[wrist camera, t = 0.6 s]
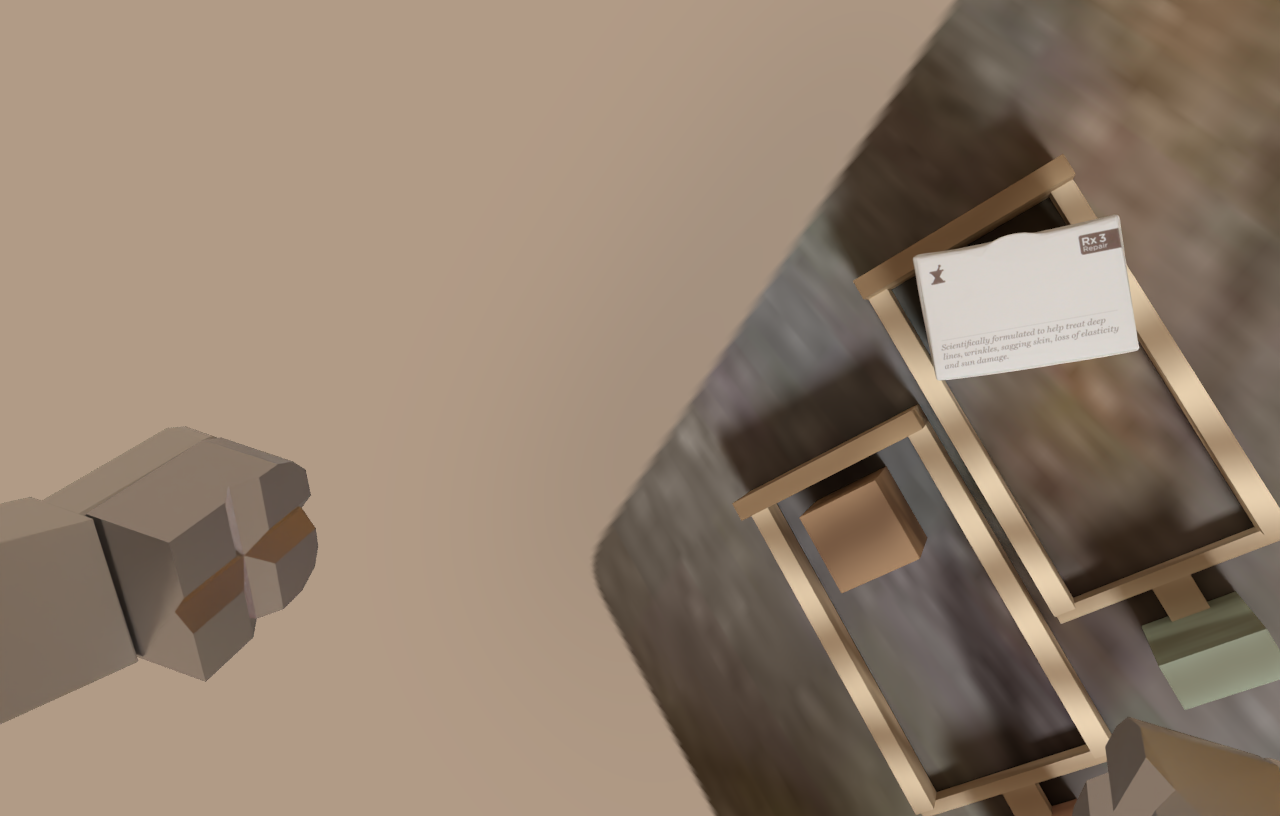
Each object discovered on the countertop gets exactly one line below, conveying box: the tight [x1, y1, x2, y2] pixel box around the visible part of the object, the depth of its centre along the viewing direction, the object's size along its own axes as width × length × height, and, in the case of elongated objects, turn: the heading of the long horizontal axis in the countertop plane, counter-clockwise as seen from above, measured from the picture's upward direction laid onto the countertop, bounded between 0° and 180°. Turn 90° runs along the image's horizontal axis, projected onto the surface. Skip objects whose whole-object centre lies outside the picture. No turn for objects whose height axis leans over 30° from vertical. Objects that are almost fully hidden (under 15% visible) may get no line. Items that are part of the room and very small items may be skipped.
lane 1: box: [853, 154, 1280, 710], centre depth 45 cm, size 27×12×6 cm, turn 31°
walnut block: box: [799, 467, 927, 593], centre depth 51 cm, size 5×5×5 cm
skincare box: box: [913, 215, 1139, 381], centre depth 42 cm, size 8×6×15 cm
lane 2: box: [732, 404, 1112, 816], centre depth 49 cm, size 27×12×6 cm, turn 31°
